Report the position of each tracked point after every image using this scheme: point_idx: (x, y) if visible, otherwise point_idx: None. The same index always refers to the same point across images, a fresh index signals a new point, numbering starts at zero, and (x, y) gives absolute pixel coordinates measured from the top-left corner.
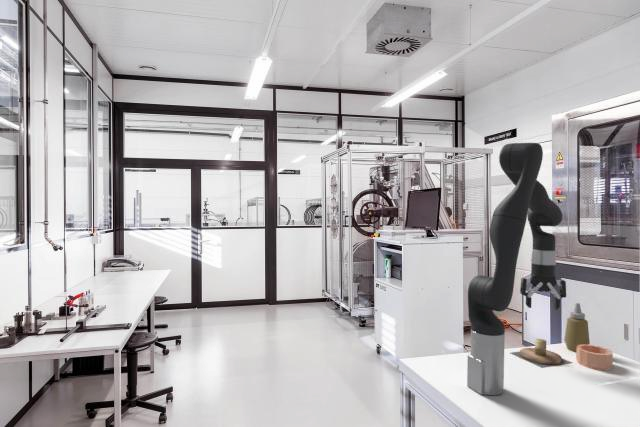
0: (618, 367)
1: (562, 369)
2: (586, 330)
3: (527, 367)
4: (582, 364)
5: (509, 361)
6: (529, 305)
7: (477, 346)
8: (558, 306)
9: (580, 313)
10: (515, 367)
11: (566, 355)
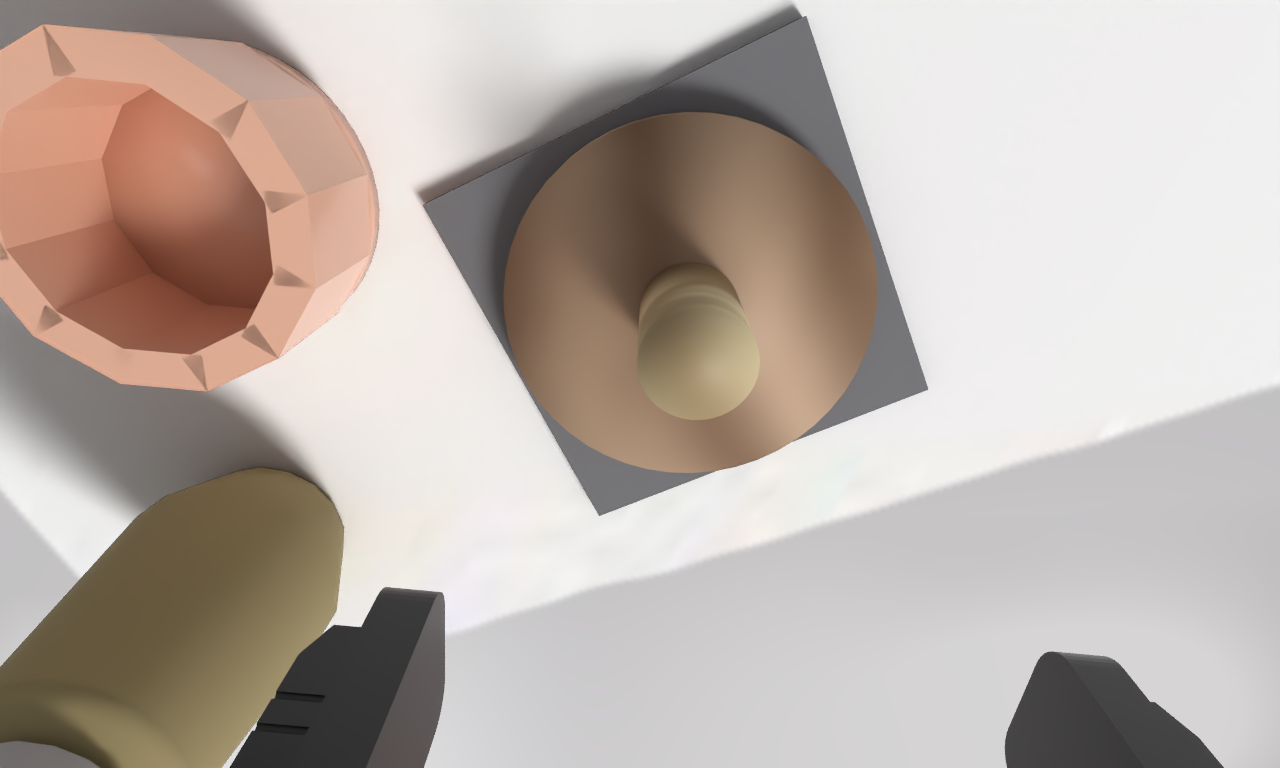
0: None
1: (588, 41)
2: (61, 608)
3: (929, 50)
4: (351, 146)
5: (1027, 198)
6: (1136, 699)
7: None
8: (330, 659)
9: None
10: (1059, 32)
11: (403, 416)
